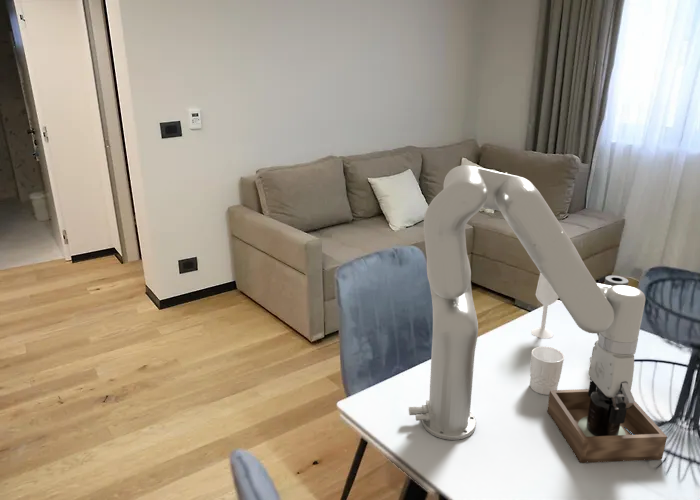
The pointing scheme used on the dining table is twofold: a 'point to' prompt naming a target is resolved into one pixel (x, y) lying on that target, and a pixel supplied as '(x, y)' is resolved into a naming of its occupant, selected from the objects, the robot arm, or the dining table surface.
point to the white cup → (545, 369)
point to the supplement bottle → (601, 414)
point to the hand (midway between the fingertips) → (605, 409)
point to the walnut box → (572, 421)
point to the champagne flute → (546, 298)
